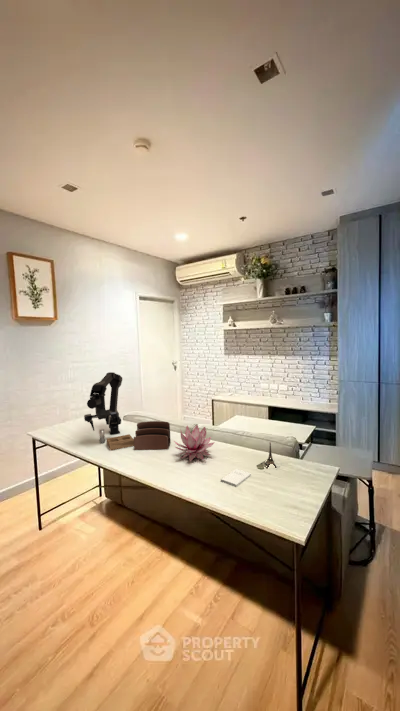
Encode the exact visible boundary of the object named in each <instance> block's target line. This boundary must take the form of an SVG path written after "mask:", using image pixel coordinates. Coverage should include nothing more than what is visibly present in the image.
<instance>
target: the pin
mask: <svg viewBox="0 0 400 711" xmlns="http://www.w3.org/2000/svg"><path fill="white" fill-rule="evenodd" d="M98 434H99V436H98V437H99V444H100V445H101V444H102V445H103V444H105V443H106V435H105V429H104V428H101V429H99V430H98Z"/></svg>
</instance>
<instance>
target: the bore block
mask: <svg viewBox="0 0 400 711" xmlns="http://www.w3.org/2000/svg"><path fill="white" fill-rule="evenodd" d="M106 444H107V447H108V449H109V451H110V452H112V451H117V450H122V449H126V448H131V447H134V437H132V436H131V434H129V433H128V434H125V435H124V434H123V435H119V436H113V437H107V438H106Z"/></svg>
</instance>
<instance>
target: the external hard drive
mask: <svg viewBox="0 0 400 711" xmlns="http://www.w3.org/2000/svg"><path fill="white" fill-rule="evenodd" d="M251 476H252V473H251V472H248V471H244V470H242V469H239V468H235V469H234V470H231V472H230V473H228V474H226V475H225V476H224V477H222V478H221V479H220V482H221V483H223V482H224V483H223V484H227V485H229V486H232V487H235V488H237V487H238V486H240V485H241V484H243V483H244V482H245V481H246V480H248V479H249V478H250V477H251Z"/></svg>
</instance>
